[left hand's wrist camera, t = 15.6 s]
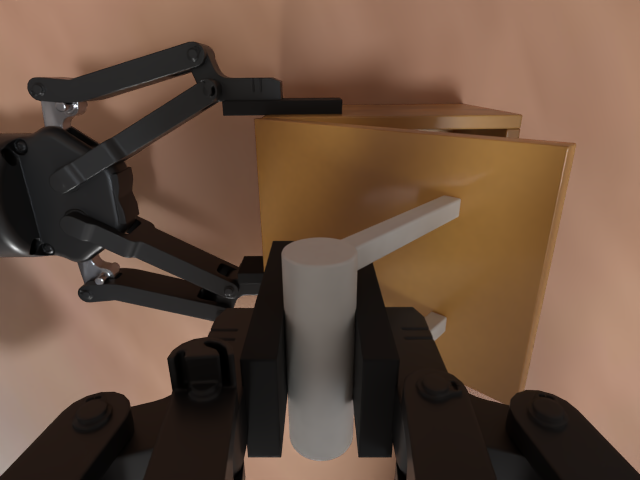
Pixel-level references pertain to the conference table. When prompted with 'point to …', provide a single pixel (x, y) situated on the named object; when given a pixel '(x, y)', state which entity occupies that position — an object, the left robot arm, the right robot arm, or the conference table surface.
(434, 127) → the chest
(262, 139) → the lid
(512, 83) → the conference table surface
